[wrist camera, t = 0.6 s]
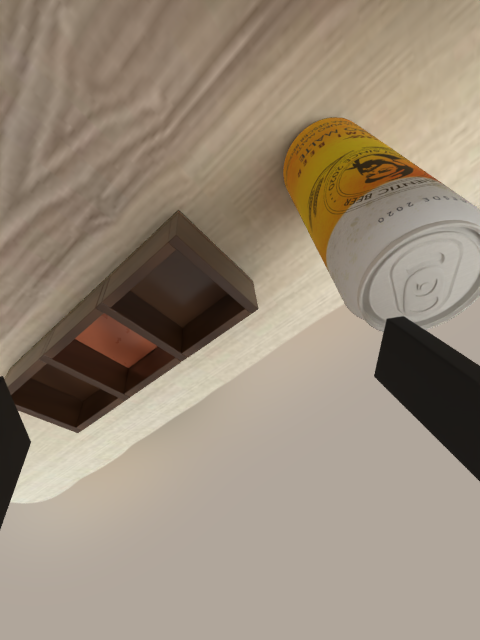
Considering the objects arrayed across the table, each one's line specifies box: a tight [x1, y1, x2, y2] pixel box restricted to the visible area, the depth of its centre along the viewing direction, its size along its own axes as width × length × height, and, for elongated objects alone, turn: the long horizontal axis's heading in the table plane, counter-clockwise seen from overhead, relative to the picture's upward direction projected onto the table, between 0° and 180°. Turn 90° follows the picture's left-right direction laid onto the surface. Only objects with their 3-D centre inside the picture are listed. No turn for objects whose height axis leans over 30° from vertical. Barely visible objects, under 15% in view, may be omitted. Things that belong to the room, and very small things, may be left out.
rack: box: [4, 210, 258, 433], centre depth 32 cm, size 26×9×4 cm, turn 130°
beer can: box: [283, 117, 480, 332], centre depth 19 cm, size 6×6×15 cm
